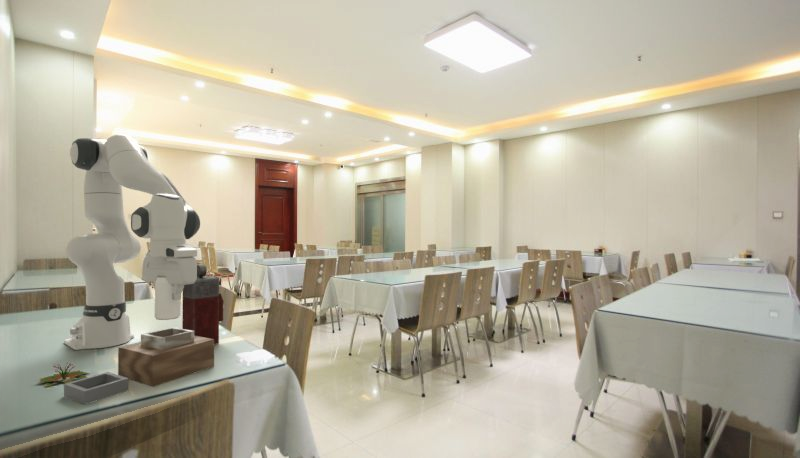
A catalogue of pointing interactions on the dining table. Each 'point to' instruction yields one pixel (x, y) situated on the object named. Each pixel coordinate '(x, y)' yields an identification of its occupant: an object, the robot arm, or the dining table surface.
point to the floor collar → (96, 387)
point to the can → (165, 300)
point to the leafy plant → (63, 376)
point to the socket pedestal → (165, 356)
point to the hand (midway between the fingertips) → (168, 298)
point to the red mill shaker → (203, 306)
